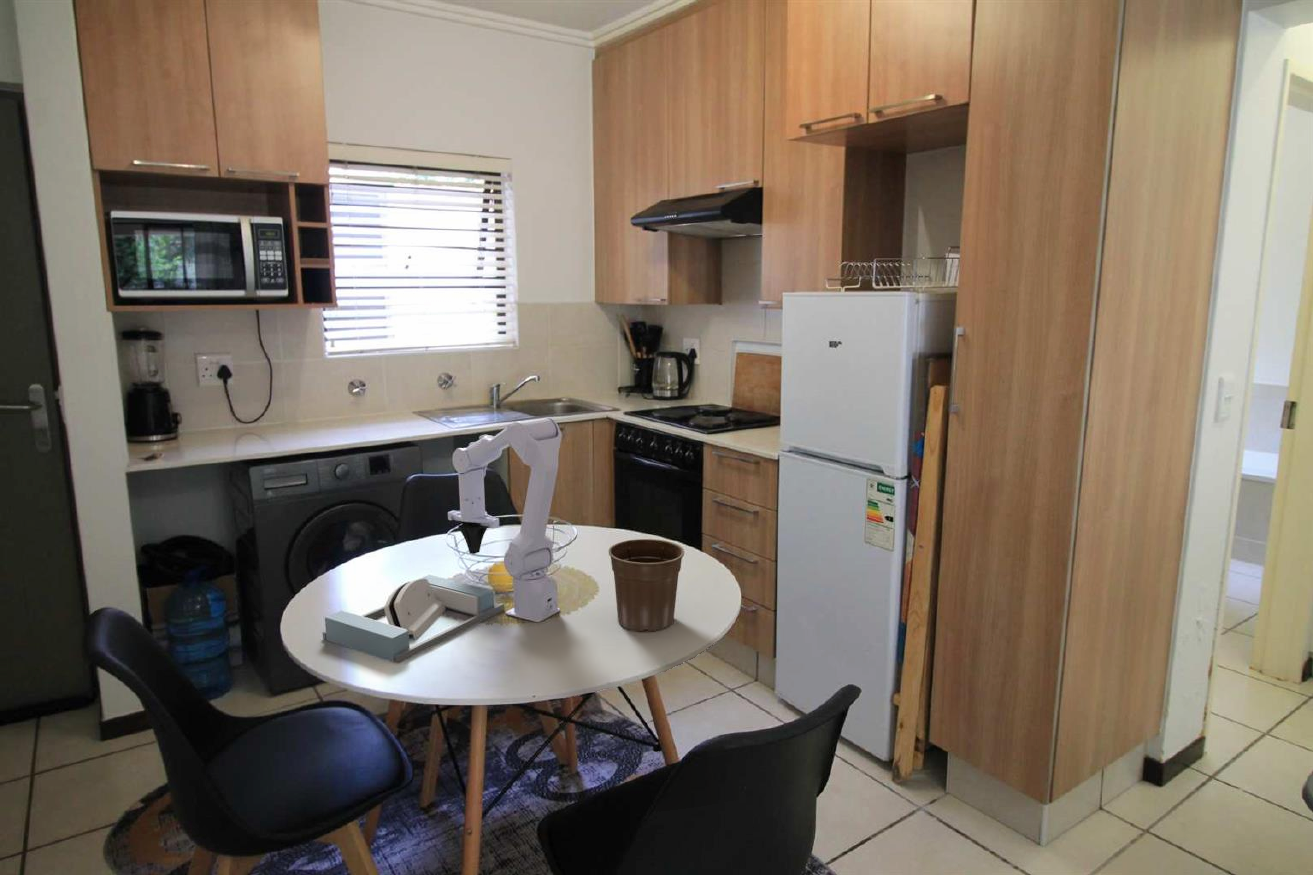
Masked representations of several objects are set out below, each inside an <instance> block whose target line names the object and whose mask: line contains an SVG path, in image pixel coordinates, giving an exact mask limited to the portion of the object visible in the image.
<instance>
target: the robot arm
mask: <svg viewBox="0 0 1313 875" xmlns="http://www.w3.org/2000/svg"><path fill="white" fill-rule="evenodd" d="M562 438H563V433H562V431H561V429H560V427H559V425H558V423H557V422H556V420H555V419H554V418H553V417H551V416H550V417H549V416H546V417H543V418H538V419H532V420H523V421H514V422H512V423H510V424H507V426H506V428H504V429H503V430H501V431H500V432H499V433H497V434H495V436H494V435H488V434H482V435H480V436H479V437H478V440H477V441H473V442H470V443H469V444H468V446H467V447H463V448H462V447H457V448H456V449H455V450H454V451H453V453H452V466H453V468H454V470H455V471H456V472H457V473H458V474H457V475H458V490H459V492H458V495H459V510H455V509H454V510H450V511H448V512H447V520H449V521H453V520H454V521H457V522H462V523H461V524H459V525H458V527H457V528H458V530H459V531H460V533H461V534H462V536H463V538H464V539H465V543H466V545H467V549H468V552H469V554H471V555H475V554H477V553H480V550H481V545H482V541H483V539H484V535H485V533H486V531H487V529H488V527H489V528H491V529H497V528H498V527H500V518H498V517H494V516H492V515H489V514H488V512H487V511H486V504H485V502H486V501H485V500H486V498H485V481H484V480H485V479H484V478H485V477H486V475H487V472H486V471H487V468H488V465H489V464H490V463H492V462H494V461H495V460H497V459H499V458H500V457H501V456H502V455H503V454H502V453H503V450H505V449H507V448H509V447H512V449H513V450H514V452H515V453H516V455H517V456H518V457H519V458H520V460H521V461H522V463H523V464H524V465H526V466H528V467H530V475H529V480H528V485H527V491H526V495H525V496H526V497H525V501H524V502H525V503H524V508H523V513H522V518H521V525H520V530H519V533H518V534H517V535H516V536H515V537H514V538H513V539H511V541H510V542H509V545H508V549H507V550H506V552H505V553H504V555H503V565H504V569H505V571H506V573H507V574H508V576H510V577H511V578H512V588H513V590H512V593H513V607H512V608H510V609H509V610H507V611H505V615H507V616H511V617H515V618H519V619H523V620H526V621H532V622H535V623H540V622H542V621H544V620H546V619H547V618H549V617H551V616H553V615H555V614H557V613H558V612H560V611H561V608H560V607H559V601H558V600H559V598H558V597H559V596H558V594H559V592H558V583H557V581H556V580H555V579H554V578H551V577H550V576H548V575H547V573H549V568H550V566H552V564H553V560H554V554H553V553H554V552H553V546H554V541H553V540H552V539H551V538H550V536H548V535H547V534H546V532H547V527H548V522H549V518H550V511H551V506H552V503H553V502H552V500H553V496H554V493H555V492H554V491H555V485H556V482H557V481H556V480H557V476H558V470H559V455H560V454H559V453H560V452H559V451H560V449H561V448H560V447H561V442H562Z"/></svg>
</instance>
